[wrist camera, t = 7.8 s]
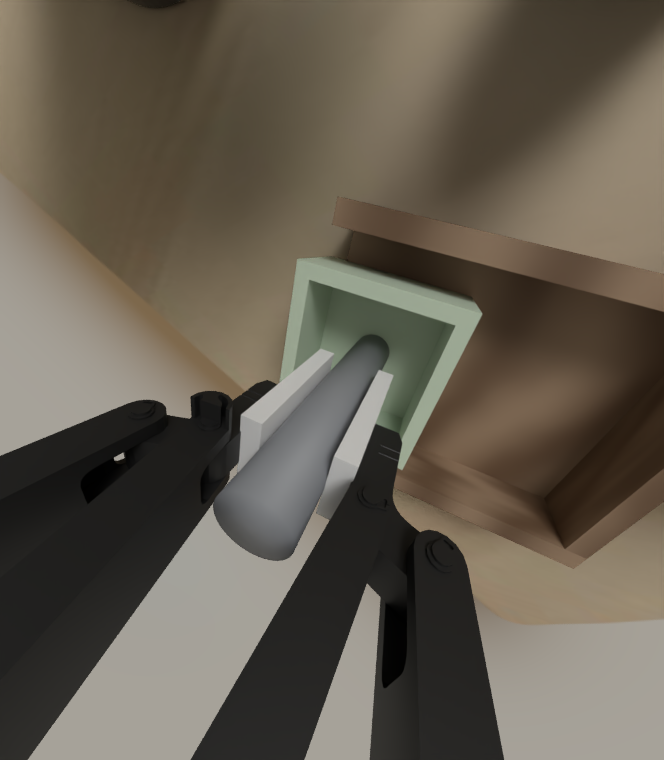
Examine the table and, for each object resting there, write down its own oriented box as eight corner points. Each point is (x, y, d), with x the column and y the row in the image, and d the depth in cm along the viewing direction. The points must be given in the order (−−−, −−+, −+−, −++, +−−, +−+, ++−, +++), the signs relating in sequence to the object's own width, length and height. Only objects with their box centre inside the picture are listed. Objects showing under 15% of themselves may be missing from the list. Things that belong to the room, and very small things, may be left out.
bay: (315, 408, 25) (290, 440, 21) (363, 209, 17) (337, 196, 13) (546, 504, 21) (573, 568, 17) (748, 303, 13) (894, 329, 9)
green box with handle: (305, 383, 23) (141, 547, 10) (331, 256, 18) (72, 273, 5) (410, 425, 21) (364, 684, 8) (471, 296, 16) (580, 467, 3)
